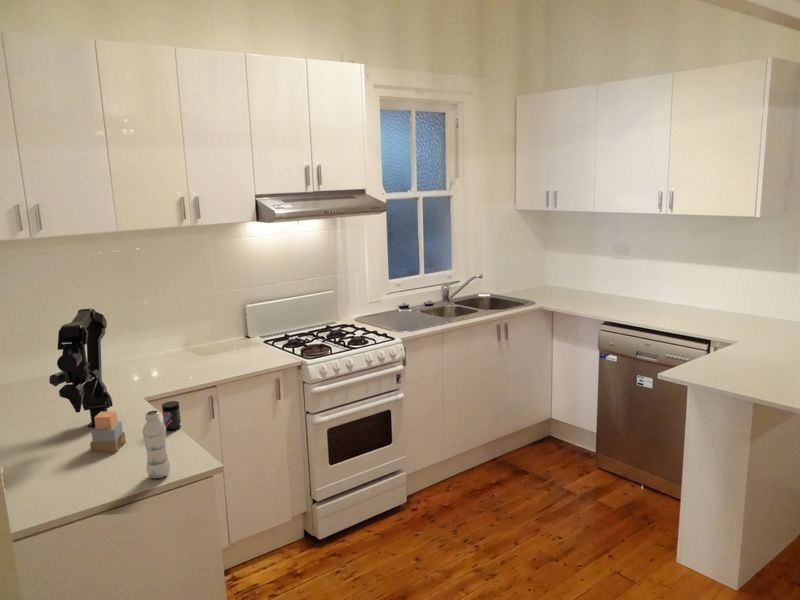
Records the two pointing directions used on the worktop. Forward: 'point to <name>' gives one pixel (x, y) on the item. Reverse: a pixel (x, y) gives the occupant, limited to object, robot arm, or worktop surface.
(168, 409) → the supplement container
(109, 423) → the terracotta block
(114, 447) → the walnut base block
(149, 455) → the plastic bottle
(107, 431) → the slate top block
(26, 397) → the worktop surface
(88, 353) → the robot arm
